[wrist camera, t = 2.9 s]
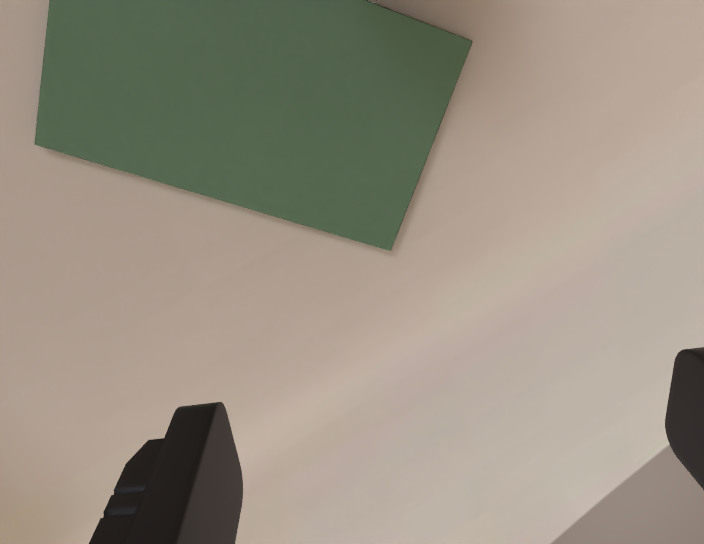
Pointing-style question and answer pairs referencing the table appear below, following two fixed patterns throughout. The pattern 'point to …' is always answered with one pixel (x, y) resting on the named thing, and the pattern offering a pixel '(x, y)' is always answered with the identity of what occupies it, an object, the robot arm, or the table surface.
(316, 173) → the mat
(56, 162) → the table surface
